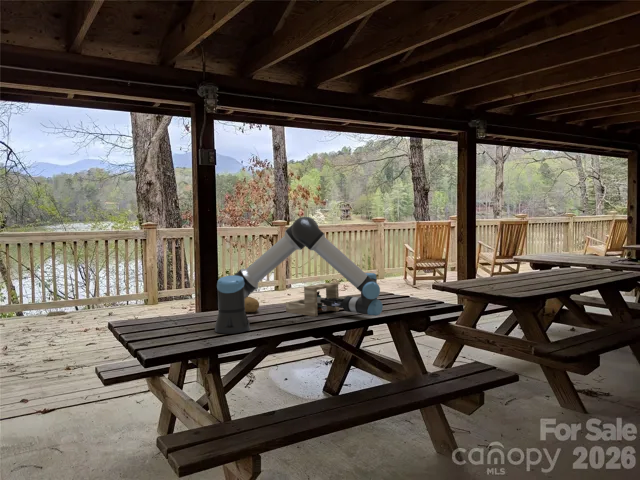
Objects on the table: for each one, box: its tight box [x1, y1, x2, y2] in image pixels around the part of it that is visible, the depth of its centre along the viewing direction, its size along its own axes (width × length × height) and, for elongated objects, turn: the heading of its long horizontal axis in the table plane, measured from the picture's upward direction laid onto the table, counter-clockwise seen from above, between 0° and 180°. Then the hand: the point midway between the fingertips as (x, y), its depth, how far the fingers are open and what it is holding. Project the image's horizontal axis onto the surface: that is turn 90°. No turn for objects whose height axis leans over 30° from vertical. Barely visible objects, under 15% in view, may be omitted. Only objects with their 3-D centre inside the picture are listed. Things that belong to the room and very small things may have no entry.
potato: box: [245, 296, 260, 313], centre depth 246 cm, size 10×14×8 cm
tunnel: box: [285, 282, 340, 318], centre depth 243 cm, size 18×21×14 cm
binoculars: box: [304, 290, 323, 312], centre depth 243 cm, size 9×11×10 cm
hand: (318, 299), depth 241 cm, fingers closed
